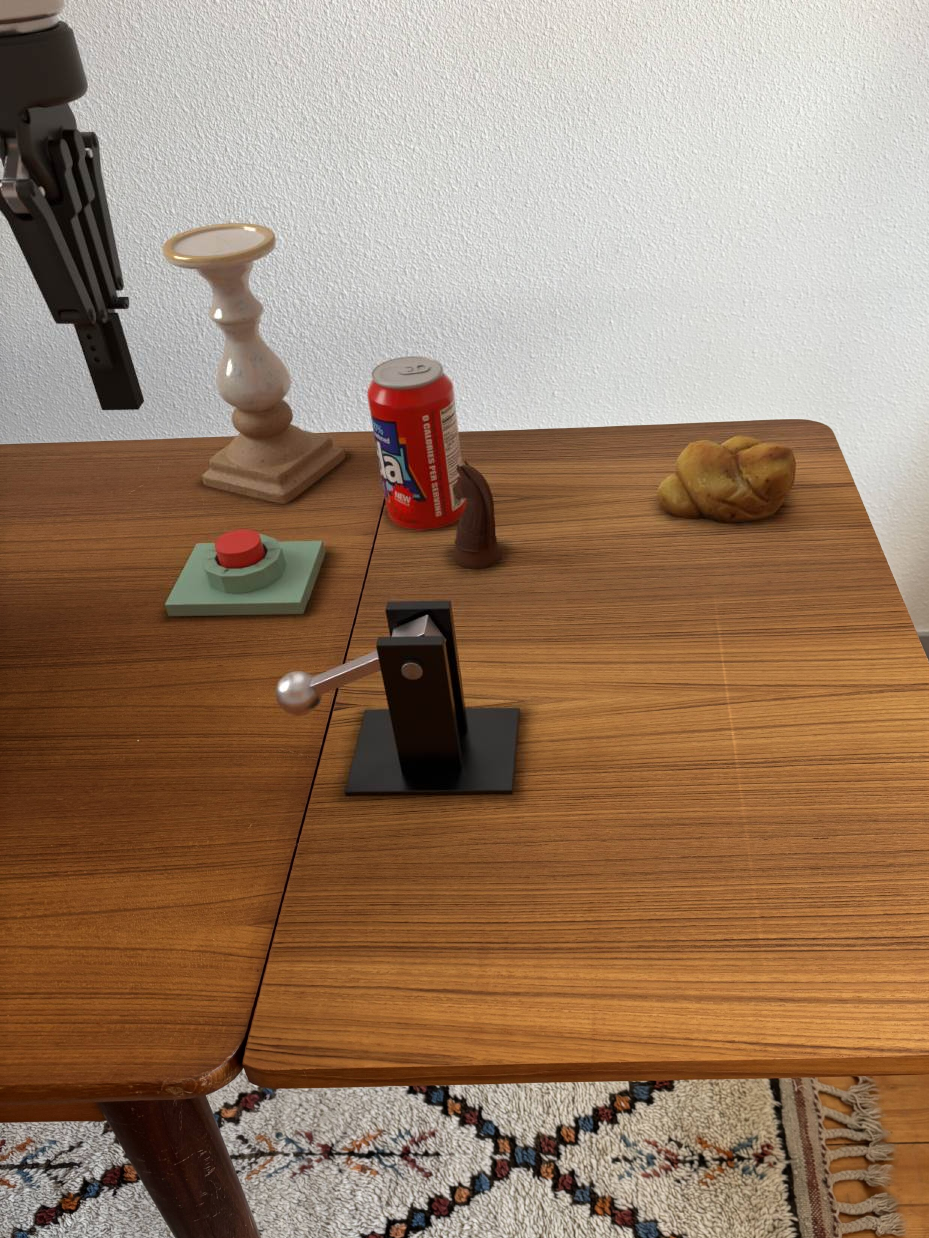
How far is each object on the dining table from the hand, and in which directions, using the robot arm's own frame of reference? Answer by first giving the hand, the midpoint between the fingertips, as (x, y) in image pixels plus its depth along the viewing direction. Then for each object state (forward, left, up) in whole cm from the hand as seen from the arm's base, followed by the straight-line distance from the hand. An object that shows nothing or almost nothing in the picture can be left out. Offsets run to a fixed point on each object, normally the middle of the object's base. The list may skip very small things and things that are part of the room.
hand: (123, 405), depth 78 cm
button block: (+2, +7, -21) cm, 22 cm away
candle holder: (-6, +27, -21) cm, 34 cm away
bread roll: (+41, +31, -21) cm, 55 cm away
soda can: (+13, +23, -21) cm, 33 cm away
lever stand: (+27, -10, -21) cm, 35 cm away
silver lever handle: (+23, -11, -13) cm, 29 cm away
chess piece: (+21, +16, -21) cm, 33 cm away
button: (+2, +7, -17) cm, 18 cm away
